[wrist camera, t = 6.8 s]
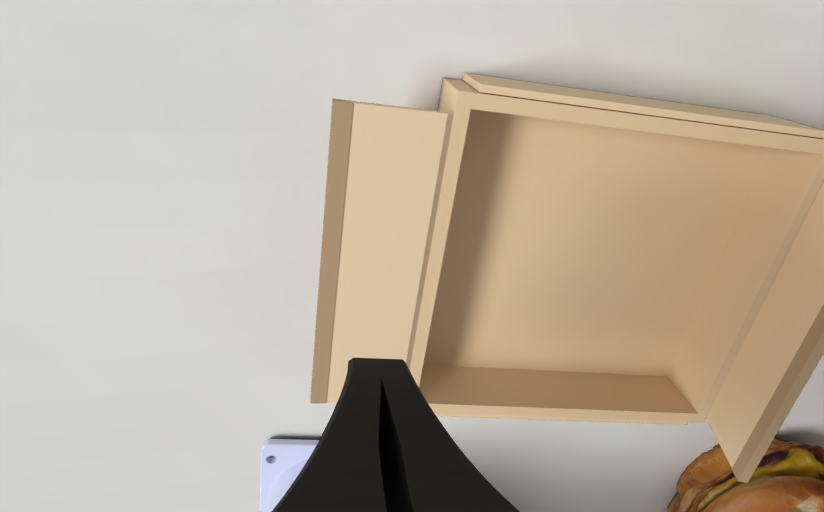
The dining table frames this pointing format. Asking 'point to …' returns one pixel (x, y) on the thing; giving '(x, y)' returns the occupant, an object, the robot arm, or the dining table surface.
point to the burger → (755, 482)
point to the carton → (599, 250)
